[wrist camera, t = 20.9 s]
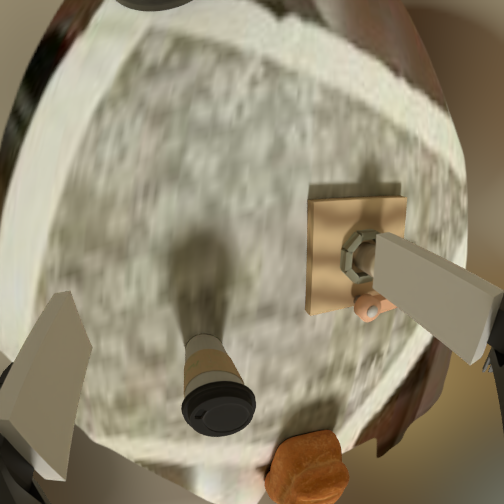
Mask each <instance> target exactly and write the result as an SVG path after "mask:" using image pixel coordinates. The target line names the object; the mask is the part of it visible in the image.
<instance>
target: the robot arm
mask: <svg viewBox="0 0 504 504" xmlns="http://www.w3.org/2000/svg"><path fill="white" fill-rule="evenodd" d="M116 1H117V2H119V3H120V4H122V5H123V6H126V7H128V8H131V9H134V10H140V11H162V10H168V9H172V8H176V7H179V6H181V5H184V4H186V3H188V2H190V1H192V0H116ZM373 289H374V290H375V291H377V292H378V293H379V294H381V295H382V296H383V297H385V298H386V299H387V300H389V301H390V302H391V303H393V304H394V305H395V306H396V307H398V308H399V309H400V310H402V311H403V312H404V313H406V314H407V315H408V316H409V317H411V318H412V319H413V320H415V321H416V322H417V323H418V324H420V325H421V326H422V327H423V328H425V329H426V330H427V331H428V332H430V333H431V334H432V335H434V336H435V337H436V338H437V339H439V340H440V341H441V342H442V343H443V344H445V345H446V346H447V347H448V348H450V349H451V350H452V351H454V352H455V353H456V354H457V355H458V356H460V357H461V358H462V359H463V360H464V361H466V362H467V363H468V364H469V365H471V364H473V363H474V362H475V361H477V360H478V359H480V358H481V357H482V354H483V352H484V349H485V347H486V345H487V343H488V344H489V345H491V346H492V347H491V350H490V352H489V355H488V357H487V359H486V362H485V364H484V366H483V372H485V371H486V369H487V366H488V365H490V364H491V366H490V368H489V371H488V372H493V373H494V378H495V382H496V387H497V393H498V398H499V404H500V409H501V415H502V423H503V430H504V290H502V289H500V288H498V287H497V286H495V285H493V284H491V283H490V282H488V281H486V280H484V279H482V278H480V277H478V276H477V275H475V274H473V273H471V272H469V271H467V270H466V269H464V268H462V267H460V266H458V265H456V264H454V263H452V262H450V261H448V260H446V259H444V258H442V257H440V256H438V255H436V254H434V253H432V252H430V251H428V250H426V249H424V248H422V247H420V246H418V245H416V244H414V243H412V242H410V241H407V240H405V239H403V238H401V237H399V236H397V235H395V234H392V233H390V232H386V233H380V234H376V250H375V265H374V277H373ZM91 351H92V345H91V343H90V341H89V338H88V336H87V334H86V331H85V329H84V326H83V324H82V321H81V319H80V316H79V314H78V311H77V308H76V305H75V303H74V300H73V297H72V294H71V291H66V292H60V293H54V295H53V297H52V298H51V300H50V301H49V303H48V304H47V306H46V307H45V309H44V311H43V312H42V314H41V315H40V317H39V319H38V320H37V322H36V324H35V325H34V327H33V329H32V330H31V332H30V334H29V336H28V337H27V339H26V341H25V343H24V344H23V346H22V348H21V350H20V352H19V354H18V355H17V357H16V359H15V361H14V362H12V363H11V364H10V365H9V366H8V367H7V368H6V369H5V370H4V371H3V373H2V375H1V377H0V504H51V503H50V501H49V500H48V499H47V497H46V495H45V494H44V492H43V490H42V489H41V487H40V485H39V484H38V483H37V482H36V481H35V479H33V478H32V476H33V471H34V469H35V470H36V471H37V472H38V473H39V474H40V475H41V476H42V477H44V478H45V479H49V480H59V481H66V475H67V467H68V459H69V453H70V446H71V439H72V434H73V429H74V423H75V418H76V413H77V408H78V403H79V399H80V394H81V390H82V386H83V382H84V378H85V374H86V370H87V366H88V362H89V358H90V355H91Z"/></svg>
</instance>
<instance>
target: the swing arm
mask: <svg viewBox="0 0 504 504" xmlns="http://www.w3.org/2000/svg"><path fill="white" fill-rule="evenodd" d="M394 308H397V307H396V306H395V305H394V304H393V303H391V302H390V301H389V300H387V299H386V298H385V297H383V296H382V295H381V294H378V295H375V296H372V295H371V294H364V295H362V296H360V297H359V298H358V299H357V301H356V302H355V305H354V312H355V313H356V314H357V315H358V316H359V317H360V318H361V319H362V320H363V321H365V322H370V321H372V320H374V319H375V318H376V317H377V316H378V315H379V313H382V312H385V311H388V310H391V309H394Z"/></svg>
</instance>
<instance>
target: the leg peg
mask: <svg viewBox="0 0 504 504" xmlns="http://www.w3.org/2000/svg"><path fill="white" fill-rule="evenodd" d="M375 250H376V246H375V245H373V244H371V243H369V242H363V243H361V244H360V245H359V246H358V247H357V249H356V250H355V251H354V252H353V263H354V265H355V266H356V267H358V268H359V269H361V270H362V271H364V272H365V273H367V274H368V275H370V276H371V277H374V265H375Z"/></svg>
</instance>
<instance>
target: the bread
mask: <svg viewBox="0 0 504 504" xmlns="http://www.w3.org/2000/svg"><path fill="white" fill-rule="evenodd" d="M348 482H349V474H348V470H347V468H346V466H345V465H344V464H343V463H342V453H341V446H340V443H339V441H338V439H337V437H336V435H335V434H334V433H333V432H332V431H330V430H322V431H316V432H312V433H308V434H304V435H299V436H295V437H292V438H289V439H287V440H285V441H284V442H283V443H282V444H281V445H280V446H279V447H278V449H277V451H276V453H275V456H274V459H273V461H272V464H271V469H270V472H269V473H268V474H267V476H266V479H265V489H266V491H267V493H268V495H269V497H270V498H271V499H272V500H273V501H275V502H276V503H277V504H334V503H335V502H336V501H337V500H338V498H339V497H340V496H341V495H342V493H343V491H344V488H345V487H346V486H347V484H348Z"/></svg>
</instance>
